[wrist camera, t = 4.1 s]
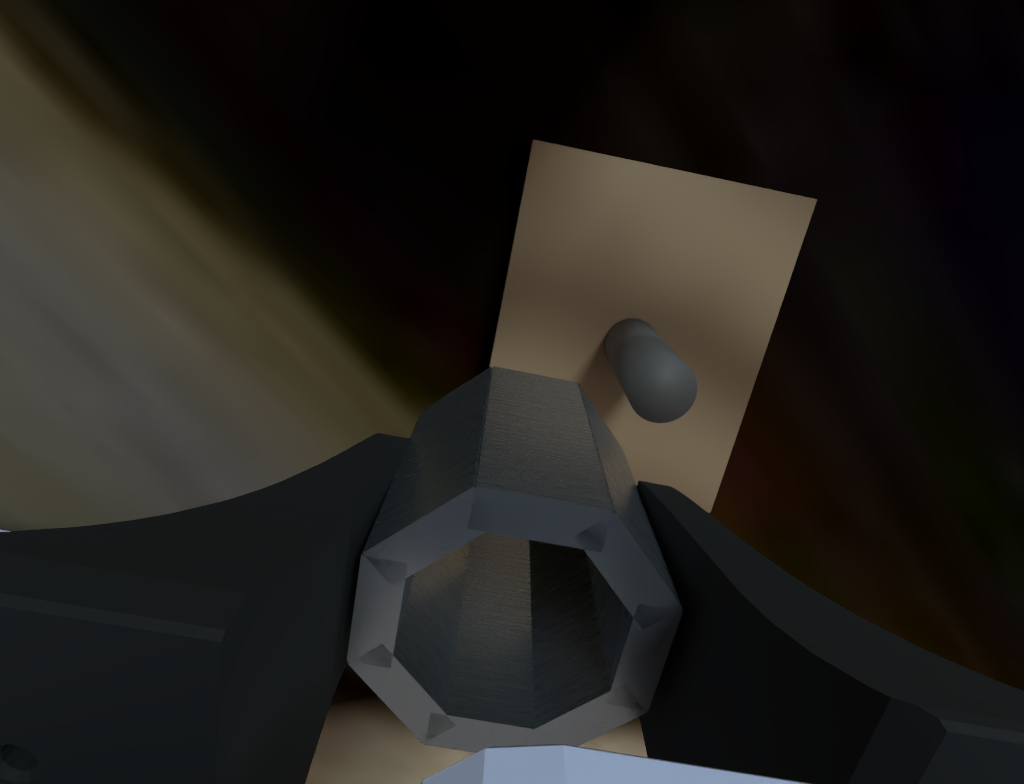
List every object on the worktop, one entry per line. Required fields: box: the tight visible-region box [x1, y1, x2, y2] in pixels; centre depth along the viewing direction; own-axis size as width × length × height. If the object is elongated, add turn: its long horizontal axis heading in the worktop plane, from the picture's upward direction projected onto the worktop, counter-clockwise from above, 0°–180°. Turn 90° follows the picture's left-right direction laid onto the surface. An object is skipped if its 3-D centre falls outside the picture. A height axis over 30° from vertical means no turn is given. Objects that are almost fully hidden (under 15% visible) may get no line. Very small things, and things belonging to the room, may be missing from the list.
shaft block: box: [489, 139, 817, 513], centre depth 17 cm, size 10×8×6 cm
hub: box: [347, 366, 683, 753], centre depth 11 cm, size 4×4×5 cm
